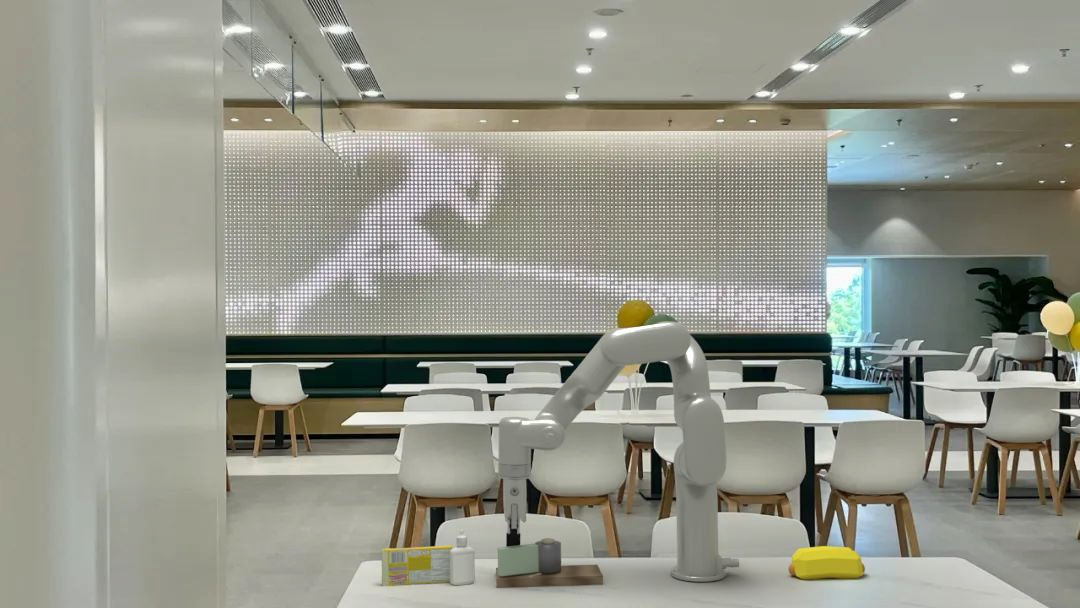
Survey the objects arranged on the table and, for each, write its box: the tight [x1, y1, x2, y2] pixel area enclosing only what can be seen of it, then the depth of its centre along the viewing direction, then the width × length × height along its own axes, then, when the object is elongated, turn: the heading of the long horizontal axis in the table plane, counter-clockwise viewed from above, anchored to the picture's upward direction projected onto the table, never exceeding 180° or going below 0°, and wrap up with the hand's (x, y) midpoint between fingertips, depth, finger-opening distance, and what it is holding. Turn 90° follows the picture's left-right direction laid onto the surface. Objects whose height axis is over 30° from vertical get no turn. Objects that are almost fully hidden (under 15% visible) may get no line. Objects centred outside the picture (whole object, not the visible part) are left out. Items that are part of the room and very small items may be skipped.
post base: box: [495, 564, 604, 589], centre depth 220 cm, size 24×10×2 cm, turn 94°
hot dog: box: [787, 545, 866, 580], centre depth 220 cm, size 18×7×8 cm
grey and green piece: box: [497, 537, 562, 576], centre depth 218 cm, size 15×6×7 cm, turn 112°
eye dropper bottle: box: [449, 529, 476, 586], centre depth 219 cm, size 4×6×12 cm
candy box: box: [381, 545, 453, 587], centre depth 219 cm, size 16×2×8 cm, turn 97°
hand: (513, 550), depth 220 cm, fingers closed
